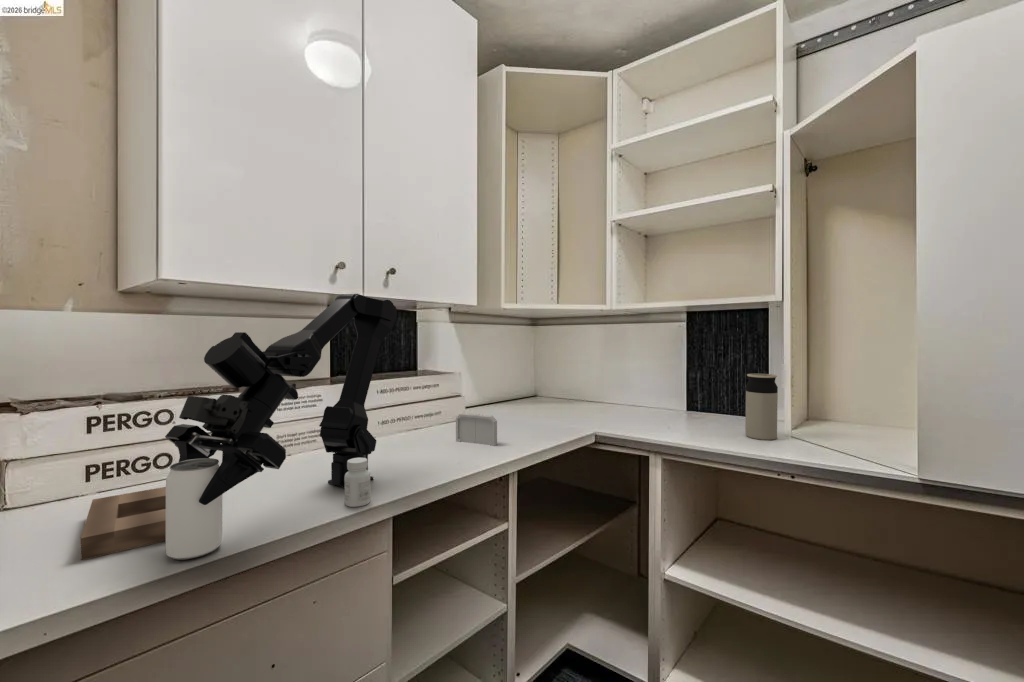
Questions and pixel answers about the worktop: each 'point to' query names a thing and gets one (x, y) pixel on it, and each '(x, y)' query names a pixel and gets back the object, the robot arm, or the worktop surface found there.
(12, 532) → the worktop surface
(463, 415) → the gray double door
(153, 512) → the socket block
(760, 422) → the travel mug
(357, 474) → the pill bottle
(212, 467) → the can
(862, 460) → the worktop surface
